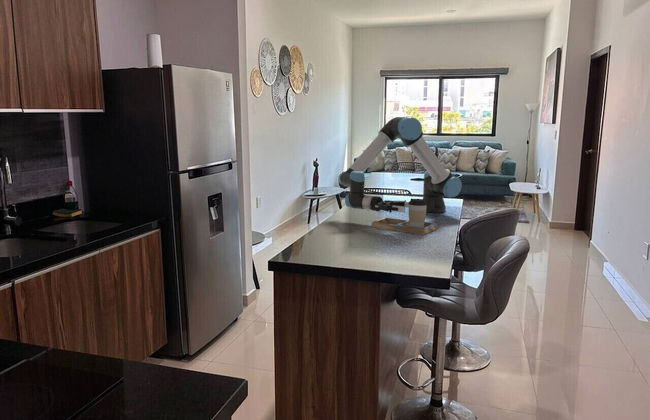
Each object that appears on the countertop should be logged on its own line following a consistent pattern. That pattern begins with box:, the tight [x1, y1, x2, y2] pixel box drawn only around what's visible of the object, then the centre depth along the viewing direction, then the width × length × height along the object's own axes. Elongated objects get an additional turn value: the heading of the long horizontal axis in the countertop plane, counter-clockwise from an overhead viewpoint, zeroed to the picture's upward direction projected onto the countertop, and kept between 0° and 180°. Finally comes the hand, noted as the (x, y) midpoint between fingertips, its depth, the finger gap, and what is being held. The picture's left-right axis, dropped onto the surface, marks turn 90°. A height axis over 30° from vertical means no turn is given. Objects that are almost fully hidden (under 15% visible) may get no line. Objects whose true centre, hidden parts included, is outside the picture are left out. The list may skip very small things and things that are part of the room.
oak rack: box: [371, 216, 438, 236], centre depth 241 cm, size 15×28×3 cm, turn 54°
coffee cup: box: [408, 198, 427, 228], centre depth 235 cm, size 9×9×15 cm
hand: (411, 207), depth 237 cm, fingers open, 13 cm apart
